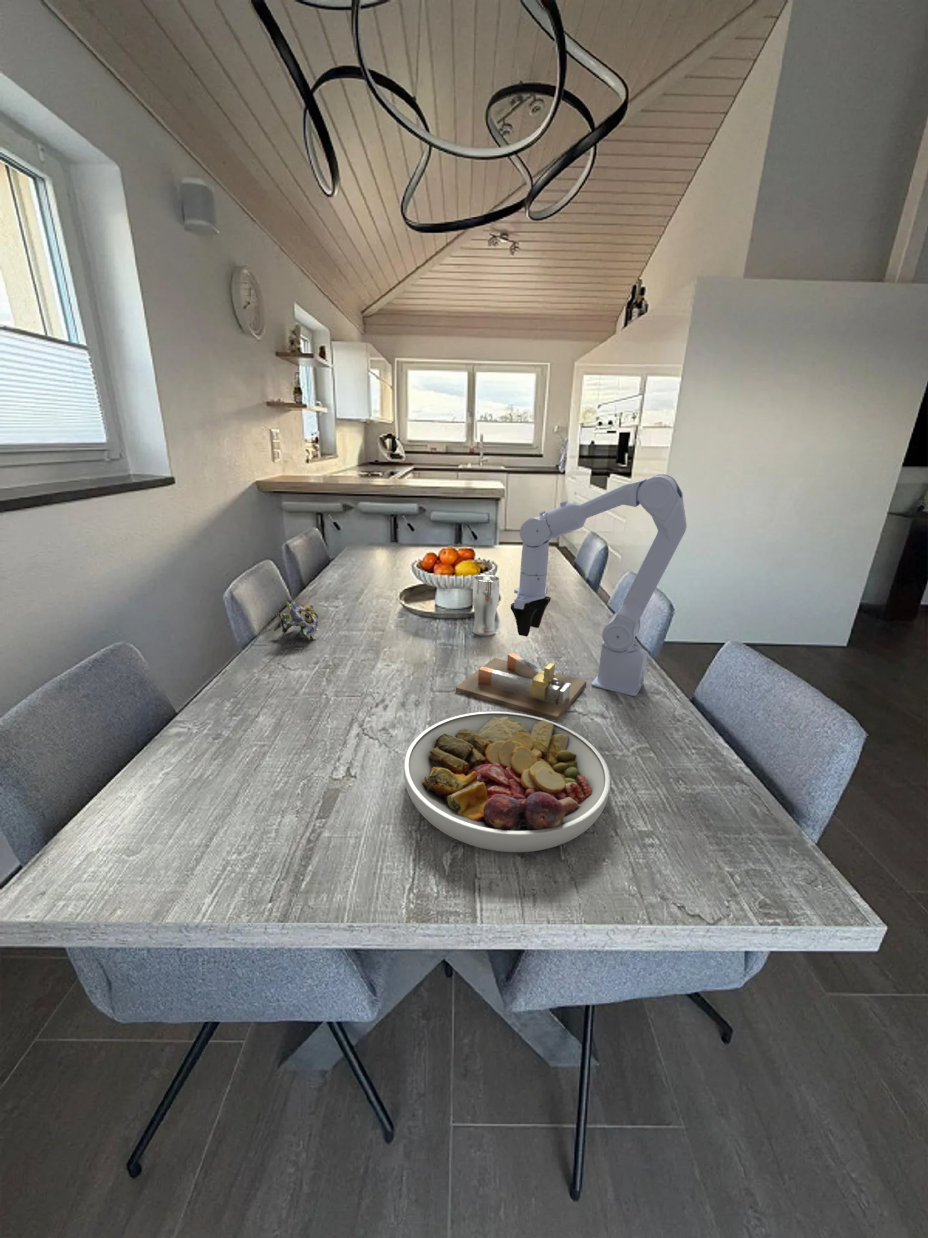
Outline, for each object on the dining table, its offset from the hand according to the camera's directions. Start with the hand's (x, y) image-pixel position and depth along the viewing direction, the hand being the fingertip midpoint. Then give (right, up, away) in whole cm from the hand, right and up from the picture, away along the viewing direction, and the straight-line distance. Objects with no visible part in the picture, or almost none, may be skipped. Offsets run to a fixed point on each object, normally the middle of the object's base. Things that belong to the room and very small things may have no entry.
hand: (528, 631), depth 119 cm
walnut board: (-2, -12, -9) cm, 15 cm away
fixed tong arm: (-3, -12, -12) cm, 17 cm away
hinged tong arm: (0, -10, -8) cm, 13 cm away
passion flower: (-57, -2, +13) cm, 58 cm away
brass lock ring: (+1, -12, -14) cm, 19 cm away
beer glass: (-9, -1, +22) cm, 24 cm away
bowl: (-9, -23, -40) cm, 47 cm away
